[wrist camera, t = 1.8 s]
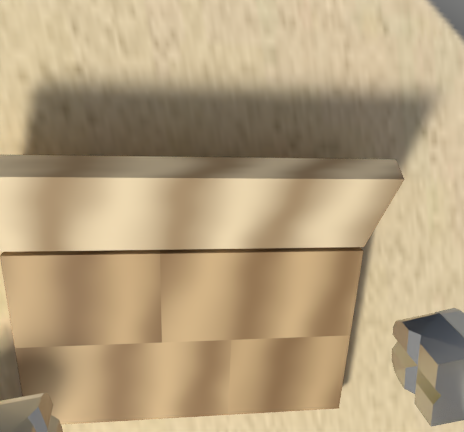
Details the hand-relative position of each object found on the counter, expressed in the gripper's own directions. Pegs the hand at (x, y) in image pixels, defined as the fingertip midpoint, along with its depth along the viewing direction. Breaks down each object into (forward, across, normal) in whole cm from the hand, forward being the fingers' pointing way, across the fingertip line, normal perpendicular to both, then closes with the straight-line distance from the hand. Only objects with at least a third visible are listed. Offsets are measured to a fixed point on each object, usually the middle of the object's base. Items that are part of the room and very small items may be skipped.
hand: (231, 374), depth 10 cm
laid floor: (+19, -1, -14) cm, 24 cm away
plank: (+18, 0, -3) cm, 18 cm away
